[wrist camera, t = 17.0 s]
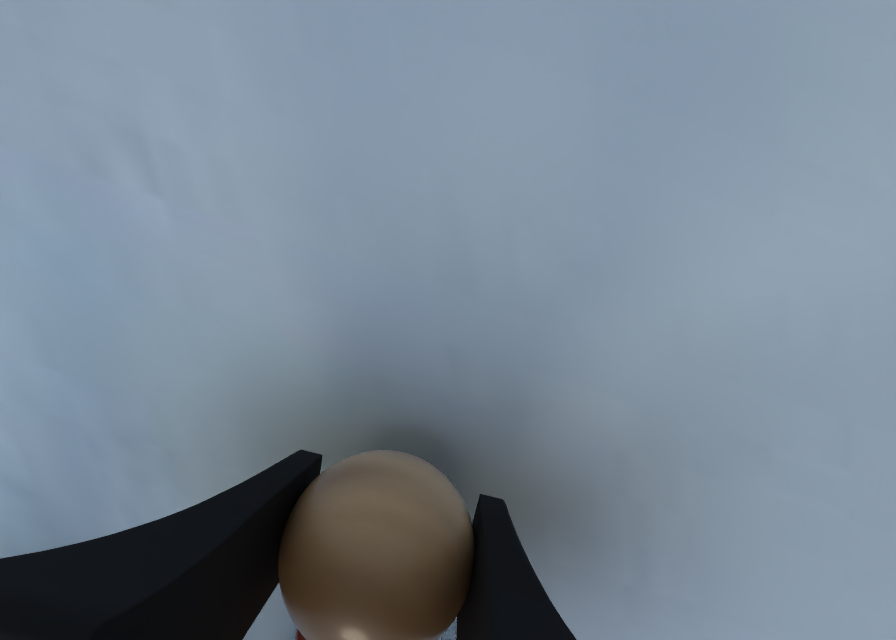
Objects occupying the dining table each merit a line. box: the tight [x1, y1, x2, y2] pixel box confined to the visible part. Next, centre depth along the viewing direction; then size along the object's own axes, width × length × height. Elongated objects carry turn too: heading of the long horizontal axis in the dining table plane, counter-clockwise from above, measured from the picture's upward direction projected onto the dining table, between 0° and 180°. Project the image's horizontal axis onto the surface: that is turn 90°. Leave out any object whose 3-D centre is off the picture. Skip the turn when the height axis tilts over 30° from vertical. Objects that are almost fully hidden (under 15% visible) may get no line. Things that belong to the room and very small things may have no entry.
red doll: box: [278, 450, 475, 640], centre depth 12 cm, size 10×4×4 cm, turn 168°
